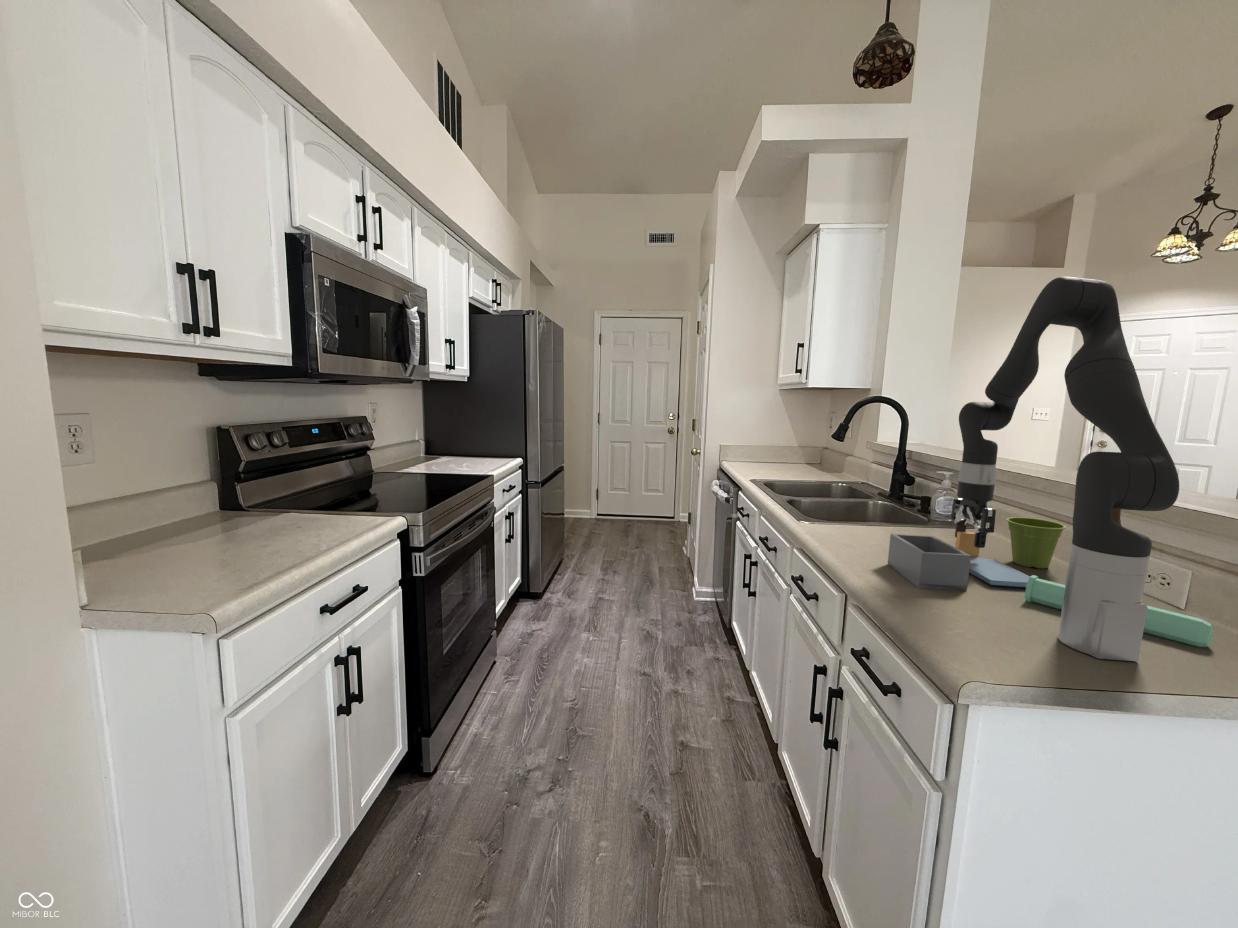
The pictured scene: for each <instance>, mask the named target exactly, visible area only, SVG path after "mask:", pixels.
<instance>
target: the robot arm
mask: <svg viewBox="0 0 1238 928" xmlns="http://www.w3.org/2000/svg"><path fill="white" fill-rule="evenodd" d="M1120 315H1121V314H1120V308H1119V302H1118V297H1117V293H1116V290H1115V288H1114V286H1113V285H1112V284H1111V283H1109V282H1107V281H1105V280H1100V279H1094V278H1082V277H1076V276H1075V277H1073V276H1057V277H1055V278H1053V279H1051V280H1050V281H1049V282H1048V283H1047V284H1046V285H1045V286H1044V288H1042V290H1041V291H1040V293H1039V294H1038V295H1037V297H1036V299H1035V301H1034V303H1033V304H1032V306H1031V309H1030V311H1029V312H1028V314H1027V316H1026V318H1025V320H1024V322H1023V324H1022V326H1021V328H1020V330H1019V332H1018V334H1017V336H1016V339H1015V340H1014V342H1013V344H1012V346H1011V348H1010V351H1009V352H1008V354H1007V356H1006V358H1005V359H1004V361H1003V362H1002V364H1001V365H1000V367H999V368H998V370H997V371H996V372H995V373H994V375H993V377H992V378H991V379H990V381H989V382H988V384H987V386H986V387H985V390H984V393H985V396H986V397H987V399H989V400H990V401H992V402H990V401H988V402H987V401H970V402H967V403H966V404H964V405H963V406H962V408H961V409H960V411H959V414H958V425H959V428H960V433H961V439H962V446H963V450H962V457H961V458H962V459H961V465H960V468H959V475H958V483H957V491H956V496H957V498H956V497H955V498H953V502H952V506H951V507H952V508H951V515H950V519H951V520H952V521H954V524H955V530H954V531H955V532H954V537H955V538H956V539H957V532H967V523H968V521H970V523H971V524H972V525H973V526H974V529H975V532H974V533H975V540H974V546H975V547H977V548H980V549H981V548H982V549H983V548H985V547H986V542H987V541H986V540H987V536H988V534H991V533H994V532H995V526H996V525H995V524H996V512H997V510H996V508H991V507H990V508H989V507H988V505H987V504H988V503H989V502H991V501H993V500H994V491H995V484H996V479H997V478H996V475H997V470H996V468H997V467H996V466H997V458H998V451H999V450H998V449H999V445H998V442H996V441H994V440H990V439H986V438H984V435H983V433H982V431H999V430H1002V429H1004V428H1005V427H1007V426H1009V423H1011V421H1012V419H1013V416H1014V412H1015V410H1016V408H1017V405H1018V402H1019V401H1020V398H1021V396H1022V395H1024V393H1025V392H1026V390H1027V389H1029V387H1030V386H1031V384H1032V383H1033V381H1034V380H1035V378H1036V377H1037V374H1038V373H1039V368H1040V367H1039V366H1040V365H1039V364H1040V357H1039V356H1040V355H1039V344H1040V339H1041V336H1042V335H1043V334H1044V332H1045V330H1047V328H1048V327H1049V326H1051V325H1054V326H1055V325H1057V326H1062V327H1063V326H1064V327H1070V328H1071V327H1072V328H1076V329H1078V330H1079V331H1080V333H1081V335H1082V342H1083V344H1082V346H1081V347H1080V348H1079V349H1078V351H1076V353H1074V355H1073V356H1072V358H1071V359H1070V360H1069V361H1068V364H1067V365H1066V367H1065V370H1064V374H1063V375H1064V376H1063V377H1064V382H1065V386H1066V390H1067V395H1068V398H1069V400H1070V404H1071V405H1072V407H1073V408H1074V409H1075V410H1076V411H1077V413H1079V414H1080V415H1081V416H1082V417H1083V418H1085V419H1086V420H1087V421H1089V422H1090V423H1091V424H1093V425H1094V426H1095V427H1096V428H1098V429H1100V430H1101V431H1102V432H1103V433H1104V434H1106V435H1107V436H1108V437H1109V438H1110V439H1111V440H1112V441H1113V442H1114V444H1115V445H1116V446H1117V447H1118V449H1119V451H1120V452H1115V451H1092V452H1090V453H1088V454H1086V455H1085V456H1084V457H1083V459H1081V461H1080V463H1079V464H1078V465H1079V466H1078V468H1077V472H1076V480H1075V489H1074V491H1075V492H1074V506H1073V513H1072V514H1073V516H1072V539H1071V540H1072V541H1071V547H1070V553H1069V558H1068V559H1069V560H1068V566H1067V573H1066V577H1065V578H1066V579H1065V584H1064V585H1065V591H1064V598H1063V605H1062V610H1061V612H1060V613H1061V614H1060V621H1059V628H1058V633H1057V639H1058V640H1059V642H1061V643H1062V644H1064V645H1065V646H1067V647H1069V648H1071V649H1074V650H1076V651H1079V652H1081V653H1084V654H1087V655H1090V656H1092V657H1094V658H1096V659H1100V660H1113V661H1125V662H1126V661H1127V662H1139V659H1140V652H1141V648H1142V647H1141V646H1142V640H1143V635H1144V632H1143V630H1144V625H1145V619H1146V613H1147V606H1148V605H1147V604H1145V603H1142V602H1143V598H1144V591H1145V585H1146V580H1147V575H1148V574H1147V573H1148V567H1149V562H1150V557H1151V556H1150V555H1151V554H1152V553H1151V552H1152V544H1153V543H1152V539H1151V538H1150V537H1149V536H1147V535H1145V534H1143V533H1141V532H1138V531H1135V530H1133V529H1130V528H1127V527H1124V526H1123V525H1122V526H1120V525H1119V524H1117V523H1116V522H1115V521H1114V520H1113V518H1112V509H1121V510H1125V511H1126V510H1127V511H1138V512H1139V511H1140V512H1161V511H1165V510H1167V509H1169V508H1171V507H1172V506H1173V505H1174V504H1175V503H1176V502H1177V500H1178V498H1179V493H1180V480H1179V474H1178V470H1177V468H1176V465H1175V462H1174V460H1173V458H1172V455H1171V454H1170V452H1169V450H1168V448H1167V446H1166V444H1165V442H1164V441H1163V439H1162V436H1161V435H1160V433H1159V431H1158V429H1157V428H1156V425H1155V424H1154V423H1155V422H1154V421H1153V419H1152V417H1151V414H1150V411H1149V408H1148V405H1147V402H1146V400H1145V398H1144V395H1143V394H1144V393H1143V391H1142V388H1141V383H1140V380H1139V377H1138V373H1137V371H1136V369H1135V365H1134V363H1133V361H1132V358H1131V355H1130V354H1129V350H1128V347H1127V343H1126V340H1125V336H1124V333H1123V328H1122V322H1121V316H1120ZM988 525H989V526H988Z"/></svg>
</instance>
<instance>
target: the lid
mask: <svg viewBox="0 0 1238 928" xmlns="http://www.w3.org/2000/svg"><path fill="white" fill-rule="evenodd" d="M974 540H975V532H972V531H971V532H969V531H966V532H957V538H956V540H955V546H954V547H955V548H957V549H959V550H961V551H963V552H965V553H967V554H969V555H971V560H970V568H969V574H971V575H974V576H975V577H977V578H978V579H981V580H982V581H984V582H985V583H987V584H989V585H991V586H992V585H993V586H997V587H1012V588H1013V587H1015V588H1026V586H1027V583H1028V580H1029V578H1030V577H1031V575H1030V576H1029V575H1028V574H1025V573H1024V572H1022V571H1019V570H1018V569H1015V567H1014V568H1013V567H1011V566H1009V565H1008V564H1005V563H1003V562H1001V561H999V560H997V559H995V558H993V559H992V558H982V557H980V549H981V548H977V547H975V546H974Z"/></svg>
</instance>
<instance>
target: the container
mask: <svg viewBox="0 0 1238 928" xmlns="http://www.w3.org/2000/svg"><path fill="white" fill-rule="evenodd" d="M1065 585H1066V584H1063V583H1057V582H1054V581H1049V580H1046V579H1042V578H1039V576H1038V575H1034V574H1031V575H1030V578H1029V580H1028V583H1027V586H1026V587H1025V592H1024V600H1025V602H1027V603H1032V602H1033V603H1037V604H1041V605H1044V606H1046V607H1047V606H1048V607H1051V608H1055V609H1057V610H1061V611H1062V605H1063V598H1064V591H1065ZM1143 633H1144V634H1145V633H1146V634H1149V635H1153V636H1157V637H1160V638H1164V639H1168V640H1171V641H1176V642H1178V643H1181V644H1187V645H1190V646H1193V647H1198V648H1207V646H1208V645H1209V643H1210V642H1211V641H1212V639H1213V638H1214V631H1213V626H1212V623H1209V622H1208V621H1206V620H1204V619H1202V618H1199V617H1195V616H1191V615H1186V614H1182V613H1180V612H1179V613H1178V612H1176V611H1175V612H1174V611H1171V610H1168V609H1162V608H1159V607H1154V606H1151V605H1147V613H1146V619H1145V625H1144V630H1143Z"/></svg>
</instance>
